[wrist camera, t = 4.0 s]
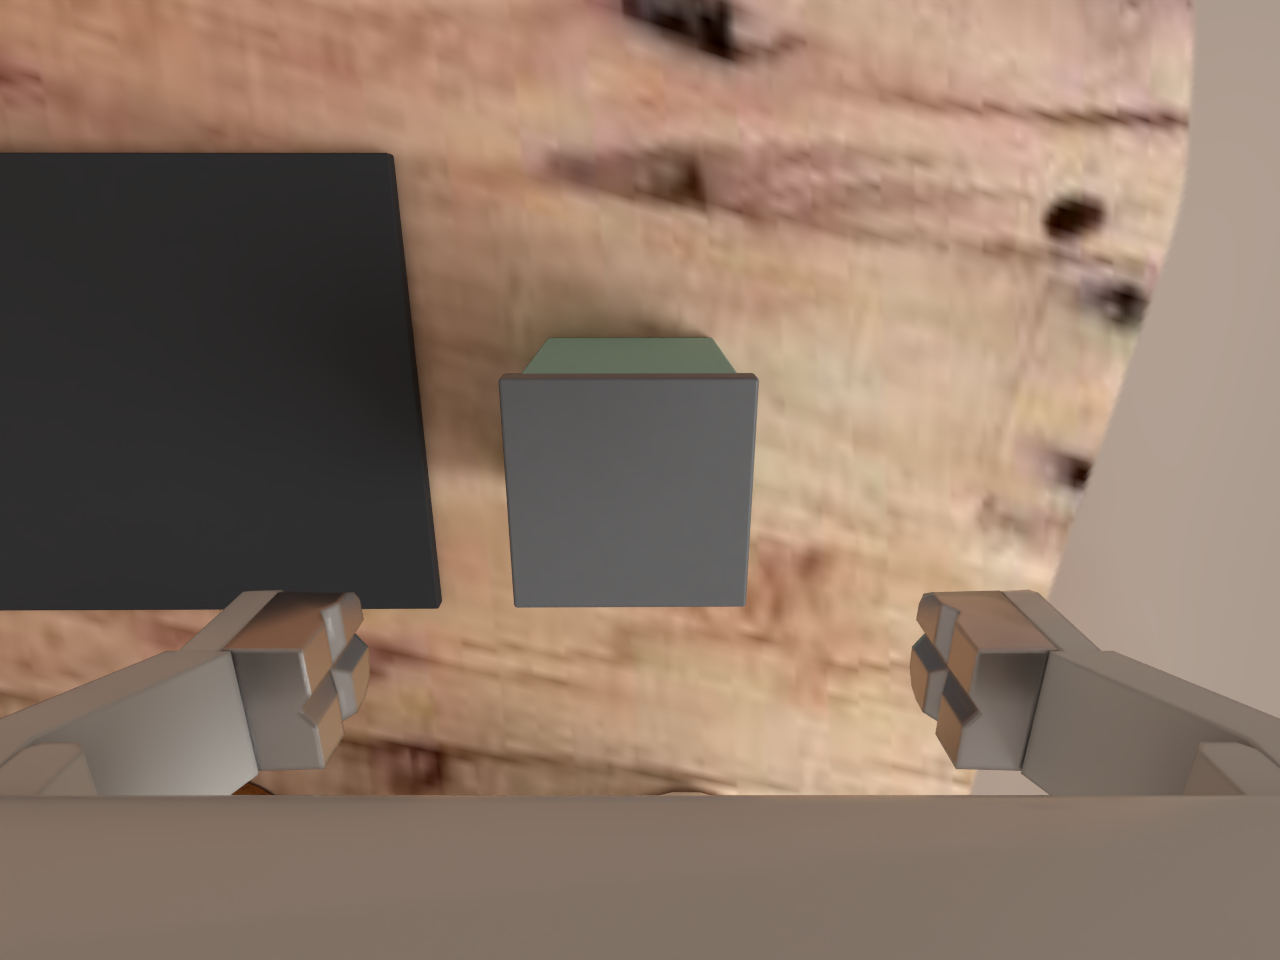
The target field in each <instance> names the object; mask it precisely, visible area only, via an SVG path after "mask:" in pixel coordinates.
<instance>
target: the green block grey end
mask: <svg viewBox="0 0 1280 960" xmlns="http://www.w3.org/2000/svg"><path fill="white" fill-rule="evenodd" d="M758 386H759V380H758V378H757V377H756V376H755V374H753V373H736V371H735V370H734V368H733V367H732V366H731V364H730V363H729V361H728V360H727V358H726V357H725V355H724V354H723V353H722V351H721V350H720V348H719V347H718V345H717V344H716V343H715V341H714V340H713V339H712V338H549V339H547V341H546V342H545V343H544V345H543V346H542V347H541V349H540V350H539V351H538V353H537V354H536V355H535V357H534V358H533V359H532V361H531V362H530V363H529V364H528V366H527V367H526V368H525V370H524V371H523V372H522V374H504V375H503V376H502V377H501V378H500V379H499V393H500V407H501V422H502V436H503V451H504V465H505V480H506V494H507V508H508V523H509V537H510V552H511V566H512V580H513V595H514V605H515V607H731V606H745V604H746V591H747V574H748V557H749V540H750V523H751V505H752V488H753V471H754V454H755V437H756V420H757V403H758Z"/></svg>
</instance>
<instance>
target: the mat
mask: <svg viewBox="0 0 1280 960" xmlns="http://www.w3.org/2000/svg"><path fill="white" fill-rule="evenodd" d="M265 590H282V591H322V592H354V593H355V594H356V596H357V597H358V598H359V599H360V603H361V608H362V609H434V608H439V606H440V604H441V602H442V597H441V588H440V579H439V570H438V561H437V552H436V542H435V533H434V524H433V515H432V506H431V497H430V487H429V478H428V469H427V460H426V451H425V442H424V432H423V423H422V414H421V405H420V396H419V386H418V377H417V368H416V359H415V350H414V341H413V331H412V322H411V313H410V304H409V295H408V286H407V276H406V267H405V258H404V249H403V240H402V231H401V221H400V212H399V203H398V194H397V185H396V176H395V166H394V157H393V155H391V154H388V153H0V610H203V609H225V608H226V607H227V606H228V605H229V604H230V603H231V602H232V601H234V600H235V599H236V598H237V597H238V596H239V595H240V594H241V593H242V592H247V591H265Z"/></svg>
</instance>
